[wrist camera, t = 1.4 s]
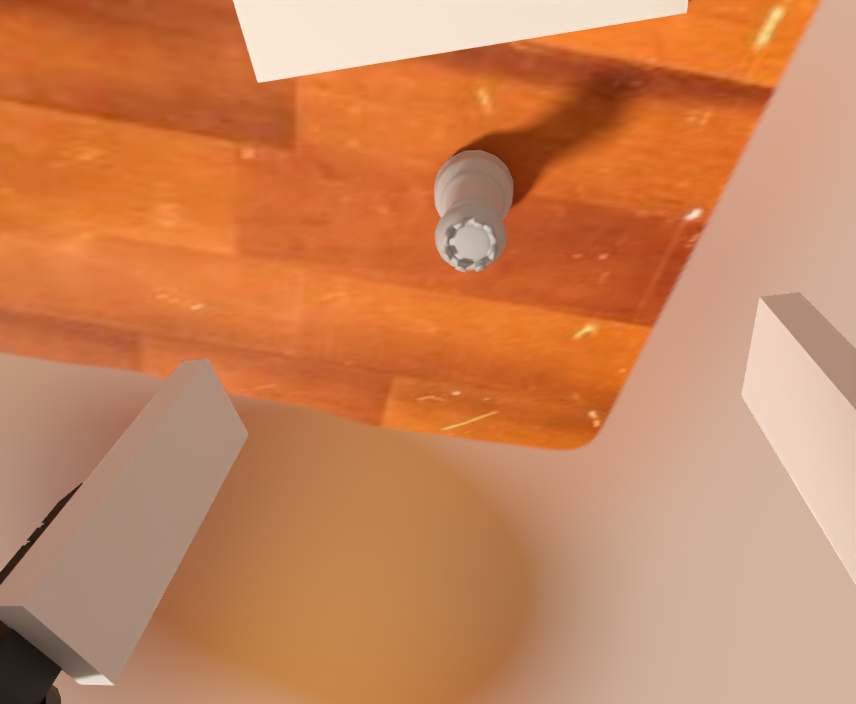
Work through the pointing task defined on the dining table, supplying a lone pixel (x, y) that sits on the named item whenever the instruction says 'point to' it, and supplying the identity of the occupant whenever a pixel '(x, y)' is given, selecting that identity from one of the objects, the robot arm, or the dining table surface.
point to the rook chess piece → (472, 209)
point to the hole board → (411, 28)
